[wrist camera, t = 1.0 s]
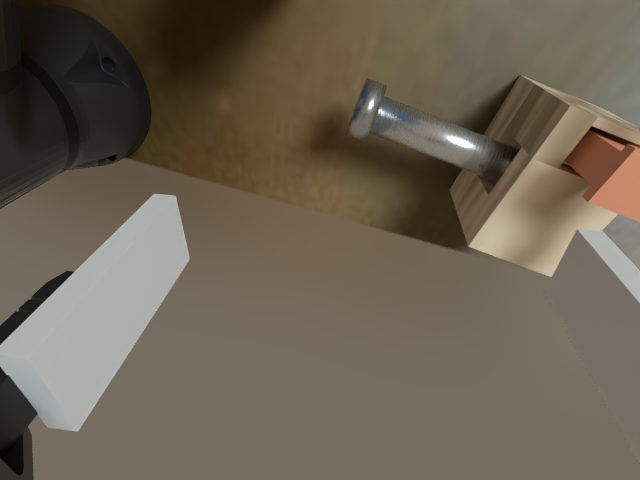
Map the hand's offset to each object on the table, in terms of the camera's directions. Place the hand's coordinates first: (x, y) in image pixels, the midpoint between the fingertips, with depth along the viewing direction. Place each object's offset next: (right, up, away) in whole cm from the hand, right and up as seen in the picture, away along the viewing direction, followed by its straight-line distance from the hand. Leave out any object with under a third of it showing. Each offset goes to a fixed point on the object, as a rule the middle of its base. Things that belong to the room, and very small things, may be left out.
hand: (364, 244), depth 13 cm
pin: (+9, +10, +19) cm, 23 cm away
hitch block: (+18, +9, +23) cm, 30 cm away
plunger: (+18, +8, +15) cm, 25 cm away
